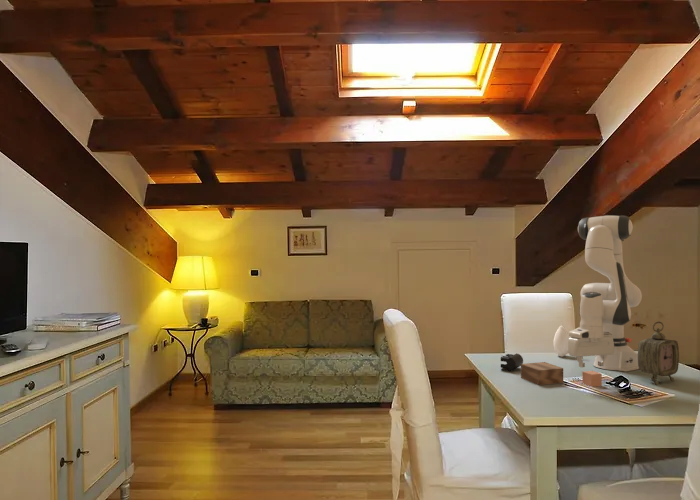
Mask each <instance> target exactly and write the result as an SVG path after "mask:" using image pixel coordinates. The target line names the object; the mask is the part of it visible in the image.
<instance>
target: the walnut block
mask: <svg viewBox="0 0 700 500" xmlns="http://www.w3.org/2000/svg"><path fill="white" fill-rule="evenodd" d="M520 378H521V379H523V380H525V381H527V382H530V383H532V384H535V385H537V386H541V385H543V386H544V385H555V384H563V383H564V367H561V366H557V365H554V364H552V363H548V362H546V361H540V362H538V361H537V362H530V363H529V362H528V363H523V364H521V366H520Z"/></svg>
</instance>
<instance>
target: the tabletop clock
mask: <svg viewBox="0 0 700 500" xmlns="http://www.w3.org/2000/svg"><path fill="white" fill-rule="evenodd" d="M657 324H661V328H659V327H657V328H656V329H655V326H656V325H657ZM664 328H665V327H664V323H663V322H662V321H655V322H654V324H653V325H652V330H653V331H654V332H653V333H652V334H651V336H650V337H649V338H645V339H642V340H640V341H639V342H638V344H637V354H638V367H639V369H638V370H639V371H641V372H643V373H645V374H651V375H652V376H651V377H650V380H651V381H652V382H653V384H654V385H659V381H658V380H657V379H658V378H657V377H658V376H660V377H669V381H670V382H674V381H675V378H674V377H672V375H675V374H676V373H678V371H679V365H680V364H679V363H680V352H679V343H678V341H677V340H674V339H669V338H666V336H665V334H664V333H662V331H663V330H664Z"/></svg>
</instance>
